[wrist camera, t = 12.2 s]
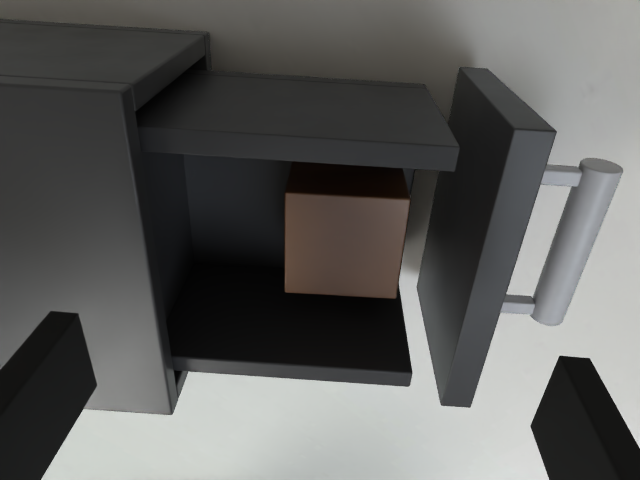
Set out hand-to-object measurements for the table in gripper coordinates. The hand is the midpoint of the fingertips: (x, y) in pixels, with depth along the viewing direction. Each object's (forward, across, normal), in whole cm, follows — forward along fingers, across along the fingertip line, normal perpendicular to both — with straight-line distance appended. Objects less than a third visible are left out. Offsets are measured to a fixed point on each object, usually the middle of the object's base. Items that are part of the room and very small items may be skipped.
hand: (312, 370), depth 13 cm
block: (+11, 0, 0) cm, 11 cm away
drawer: (+12, +1, 0) cm, 12 cm away
